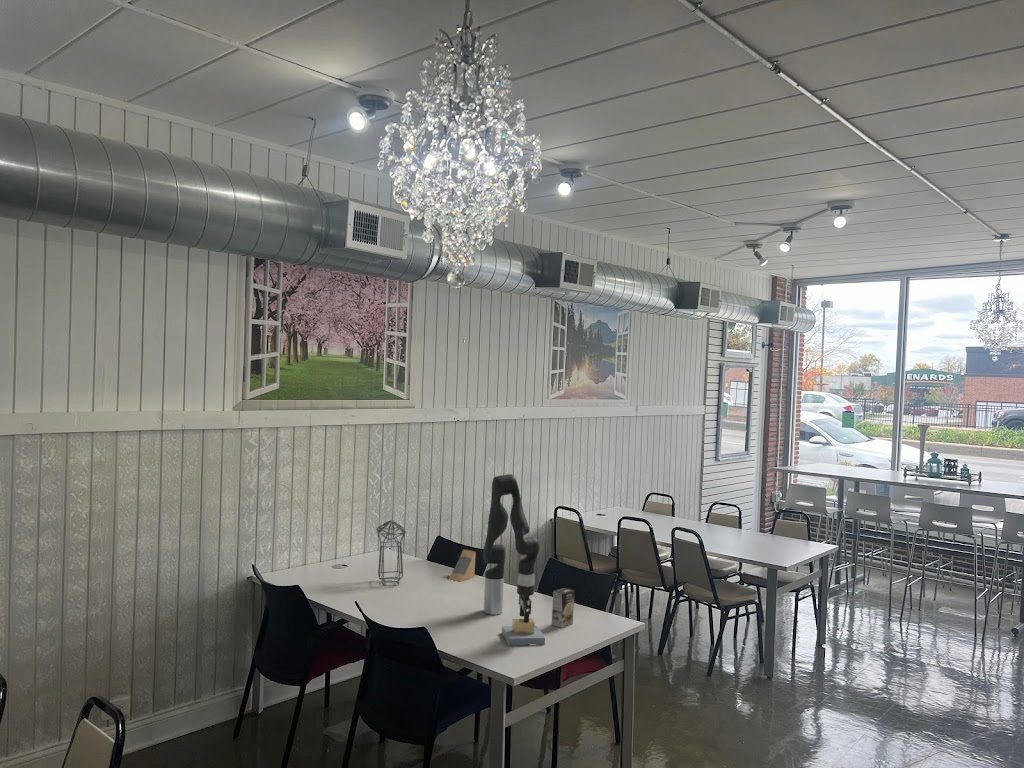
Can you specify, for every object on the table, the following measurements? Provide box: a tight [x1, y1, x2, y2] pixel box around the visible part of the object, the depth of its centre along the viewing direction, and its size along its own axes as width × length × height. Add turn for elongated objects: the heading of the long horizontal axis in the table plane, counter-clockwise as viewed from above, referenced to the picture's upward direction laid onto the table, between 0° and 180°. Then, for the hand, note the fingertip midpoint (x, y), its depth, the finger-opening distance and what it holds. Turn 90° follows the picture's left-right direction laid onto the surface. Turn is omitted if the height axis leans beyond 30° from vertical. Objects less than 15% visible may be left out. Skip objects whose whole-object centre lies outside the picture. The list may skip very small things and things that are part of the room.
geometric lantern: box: [375, 519, 407, 586], centre depth 407 cm, size 16×16×35 cm
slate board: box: [501, 625, 546, 646], centre depth 328 cm, size 16×16×3 cm
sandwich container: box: [448, 549, 477, 583], centre depth 423 cm, size 9×15×15 cm, turn 152°
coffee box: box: [551, 587, 576, 629], centre depth 350 cm, size 9×6×16 cm
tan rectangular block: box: [511, 618, 536, 634], centre depth 328 cm, size 5×9×5 cm, turn 101°
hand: (524, 619), depth 328 cm, fingers open, 8 cm apart
